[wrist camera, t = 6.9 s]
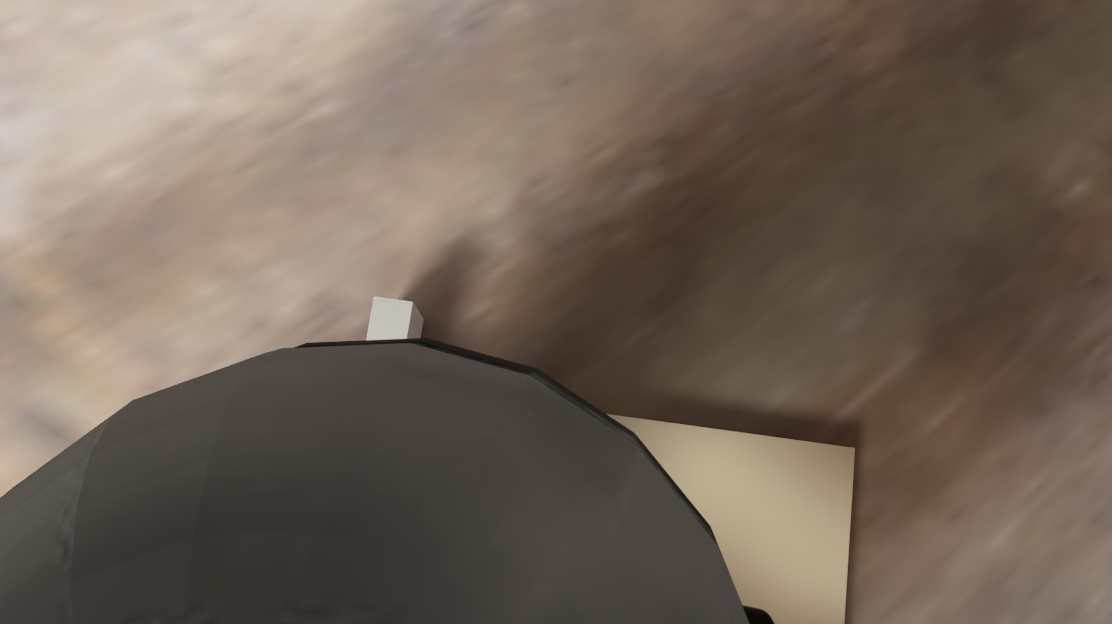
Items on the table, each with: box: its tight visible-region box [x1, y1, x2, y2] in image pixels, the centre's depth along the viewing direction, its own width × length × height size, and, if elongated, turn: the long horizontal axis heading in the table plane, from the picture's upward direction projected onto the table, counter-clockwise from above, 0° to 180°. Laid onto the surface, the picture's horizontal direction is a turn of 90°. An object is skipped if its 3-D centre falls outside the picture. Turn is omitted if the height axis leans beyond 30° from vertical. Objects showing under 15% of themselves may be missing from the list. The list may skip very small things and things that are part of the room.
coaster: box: [607, 414, 855, 624], centre depth 22 cm, size 10×10×1 cm
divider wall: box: [366, 296, 424, 340], centre depth 21 cm, size 14×1×2 cm, turn 172°
